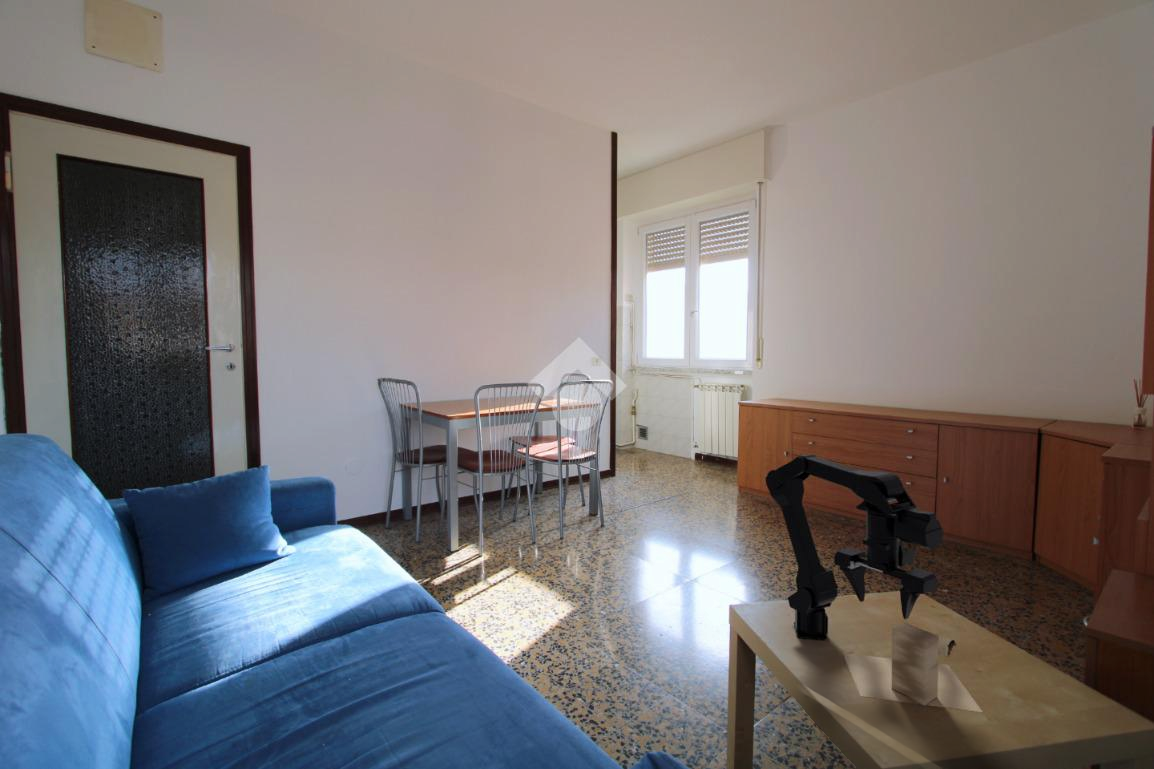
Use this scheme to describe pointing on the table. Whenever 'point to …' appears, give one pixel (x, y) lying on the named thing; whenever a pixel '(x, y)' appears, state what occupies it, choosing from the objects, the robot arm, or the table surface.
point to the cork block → (915, 663)
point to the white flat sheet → (877, 683)
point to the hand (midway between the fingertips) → (883, 609)
